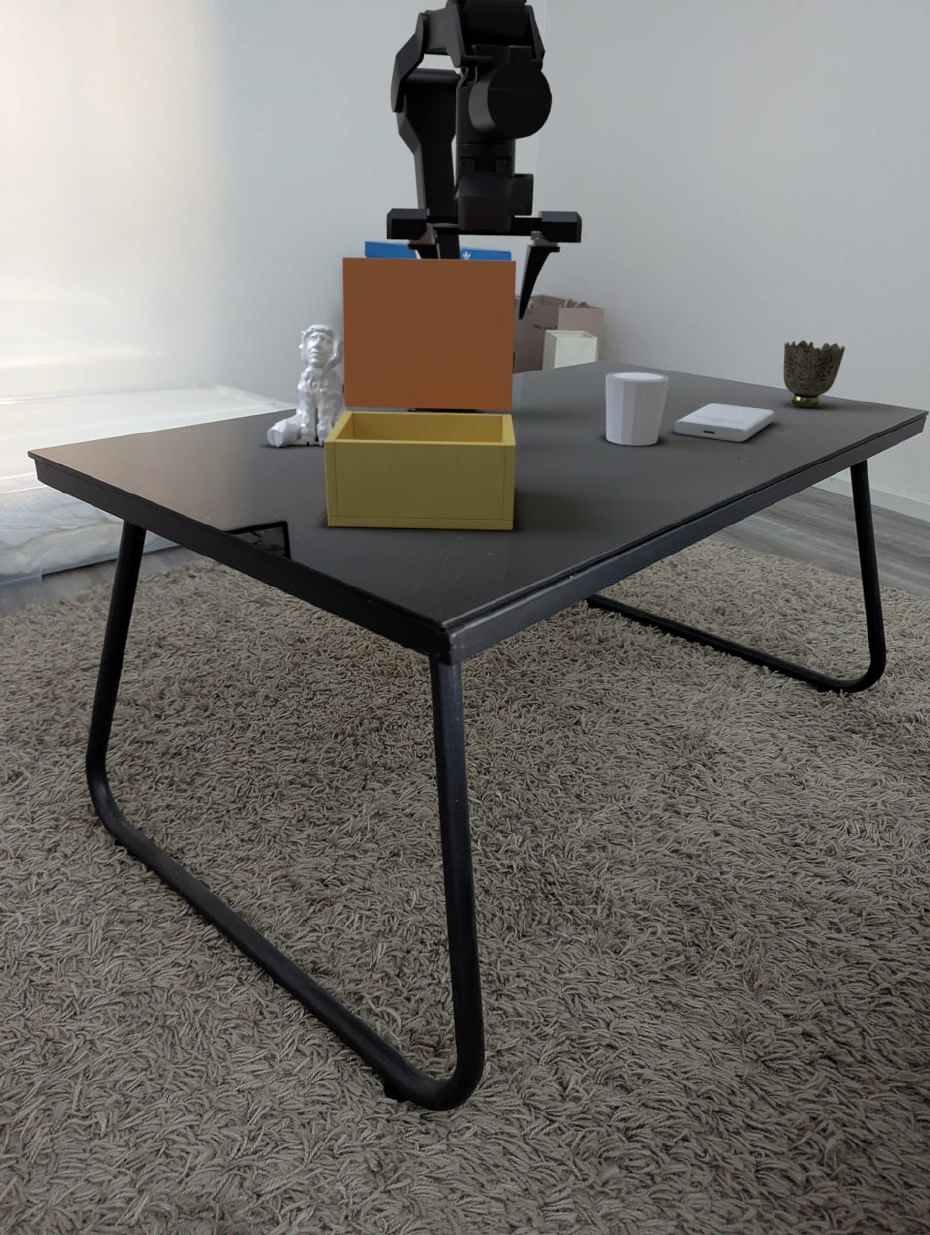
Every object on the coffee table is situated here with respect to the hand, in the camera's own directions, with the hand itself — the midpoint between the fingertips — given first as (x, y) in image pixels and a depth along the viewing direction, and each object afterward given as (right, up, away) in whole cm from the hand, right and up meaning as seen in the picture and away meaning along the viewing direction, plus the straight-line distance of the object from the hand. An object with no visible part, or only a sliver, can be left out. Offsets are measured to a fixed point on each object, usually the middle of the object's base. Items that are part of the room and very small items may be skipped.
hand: (481, 318), depth 91 cm
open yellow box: (-5, -21, -15) cm, 27 cm away
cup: (+44, -2, +28) cm, 52 cm away
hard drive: (+29, -8, +15) cm, 34 cm away
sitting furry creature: (-17, -11, +6) cm, 22 cm away
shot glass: (+17, -11, +9) cm, 22 cm away
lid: (-5, -6, -15) cm, 17 cm away
